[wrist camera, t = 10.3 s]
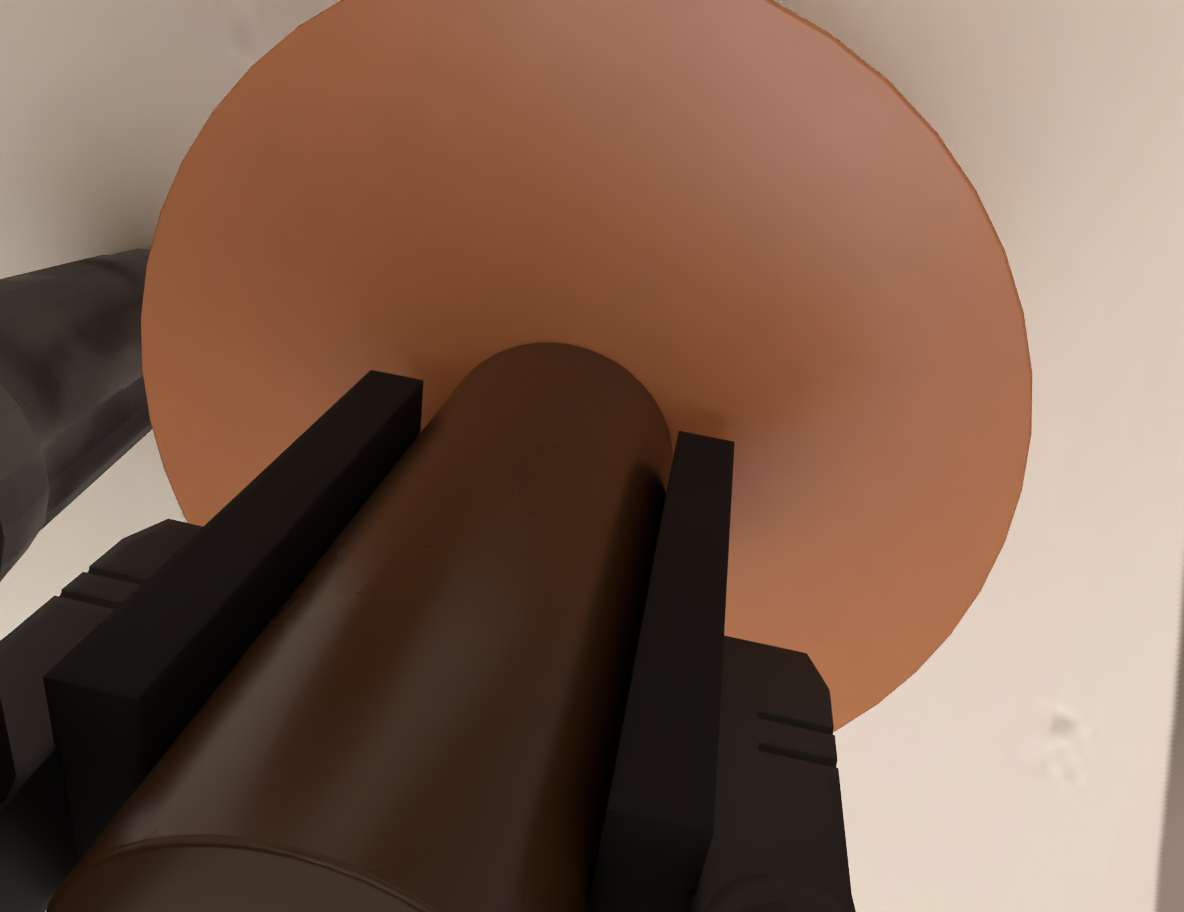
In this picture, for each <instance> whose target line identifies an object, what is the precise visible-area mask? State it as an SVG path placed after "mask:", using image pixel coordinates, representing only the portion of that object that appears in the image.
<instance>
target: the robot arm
mask: <svg viewBox="0 0 1184 912" xmlns="http://www.w3.org/2000/svg"><path fill="white" fill-rule="evenodd" d="M423 382H424V380H420V379H415V378H410V377H405V376H400V375H395V374H390V373H385V372H380V371H375V370H370V371H369V372H368V373H367V374H366V375H365V376H364V377H363V378H362V379H360V380H359V381H358V382H357V383H356V384H355V385H354V386H353V387H352V388H351V389H350V390H349V391H348V392H347V393H345V394H344V395H343V396H342V397H341V398H340V399H339V400H338V401H337V402H336V403H335V404H334V405H333V406H332V407H331V408H329V409H328V410H327V411H326V412H325V413H324V414H323V415H322V416H321V417H320V418H319V419H318V420H317V421H316V422H315V423H313V424H312V425H311V426H310V427H309V428H308V429H307V430H306V431H305V432H304V433H303V434H302V435H301V436H300V437H298V438H297V439H296V440H295V441H294V442H293V443H292V444H291V445H290V446H289V447H288V448H287V449H286V450H285V451H284V452H282V453H281V454H280V455H279V456H278V457H277V458H276V459H275V460H274V461H273V462H272V463H271V464H270V465H269V466H268V467H266V468H265V469H264V470H263V471H262V472H261V473H260V474H259V475H258V476H257V477H256V478H255V479H254V480H253V481H251V482H250V483H249V484H248V485H247V486H246V487H245V488H244V489H243V490H242V491H241V492H240V493H239V494H238V495H237V496H235V497H234V498H233V499H232V500H231V501H230V502H229V503H228V504H227V505H226V506H225V507H224V508H223V509H222V510H221V511H219V512H218V513H217V514H216V515H215V516H214V517H213V518H212V519H211V520H210V521H209V522H208V523H207V524H206V525H204V526H199V525H194V524H190V523H185V522H180V521H176V520H171V519H167V520H165V521H162V522H160V523H158V524H155V525H153V526H151V527H149V528H146V529H144V530H142V531H139V532H137V533H135V534H132V535H130V536H128V537H126V538H123V539H122V540H121V541H119V542H118V543H117V544H116V545H115V546H113V547H112V548H111V549H110V550H109V551H107V552H106V553H105V554H104V555H103V556H101V557H100V558H99V559H98V560H97V561H95V562H94V563H93V564H92V565H91V566H90V567H89V571H88V573H85V572H82V573H81V574H80V575H79V576H78V577H76V578H75V579H74V580H73V581H72V582H70V583H69V584H68V585H67V586H66V587H64V588H63V589H62V592H61V595H60V596H59V597H58V596H54V597H52V598H51V599H50V600H49V601H48V602H46V603H45V604H44V605H43V606H42V607H40V608H39V609H38V610H37V611H36V612H35V613H33V614H32V615H31V616H30V617H29V618H27V619H26V620H25V621H24V622H23V623H21V624H20V625H19V626H18V627H17V628H15V629H14V630H13V631H12V632H11V633H9V634H8V635H7V636H6V637H5V638H3V639H2V640H1V641H0V912H45V911H46V910H47V908H48V905H49V902H50V901H51V899H52V897H53V896H54V894H55V892H56V891H57V889H58V887H59V886H60V884H61V883H62V882H63V881H64V879H65V878H66V877H67V875H68V874H69V873H70V872H71V870H72V869H73V868H74V867H75V865H76V864H77V863H78V862H79V860H80V859H81V858H82V857H83V855H84V854H85V853H86V852H87V850H88V849H89V848H90V847H91V845H92V844H93V843H94V842H95V840H96V839H97V838H98V837H99V835H100V834H101V833H102V832H103V830H104V829H105V828H106V827H107V825H108V824H109V823H110V822H111V820H112V819H113V818H114V817H115V815H116V814H117V813H118V812H119V810H120V809H121V808H122V807H123V805H124V804H125V803H126V801H127V800H128V799H129V798H130V796H131V795H132V794H133V793H134V791H135V790H136V789H137V788H138V786H139V785H140V784H141V783H142V781H143V780H144V779H145V778H146V776H147V775H148V774H149V773H150V771H151V770H152V769H153V768H154V766H155V765H156V764H157V763H158V761H159V760H160V759H161V758H162V756H163V755H164V754H165V753H166V751H167V750H168V749H169V748H170V746H171V745H172V744H173V743H174V741H175V740H176V739H177V738H178V736H179V735H180V734H181V733H182V731H183V730H184V729H185V727H186V726H187V725H188V724H189V722H190V721H191V720H192V719H193V717H194V716H195V715H196V714H197V712H198V711H199V710H200V709H201V707H202V706H203V705H204V704H205V702H206V701H207V700H208V699H209V697H210V696H211V695H212V694H213V692H214V691H215V690H216V689H217V687H218V686H219V685H220V684H221V682H222V681H223V680H224V679H225V677H226V676H227V675H228V674H229V672H230V671H231V670H232V669H233V667H234V666H235V665H236V664H237V662H238V661H239V660H240V659H241V657H242V656H243V655H244V654H245V652H246V651H247V650H248V648H249V647H250V646H251V645H252V643H253V642H254V641H255V640H256V638H257V637H258V636H259V635H260V633H261V632H262V631H263V630H264V628H265V627H266V626H267V625H268V623H269V622H270V621H271V620H272V618H273V617H274V616H275V615H276V613H277V612H278V611H279V610H280V608H281V607H282V606H283V605H284V603H285V602H286V601H287V600H288V598H289V597H290V596H291V595H292V593H293V592H294V591H295V590H296V588H297V587H298V586H299V585H300V583H301V582H302V581H303V580H304V578H305V577H306V576H307V574H308V573H309V572H310V571H311V569H312V568H313V567H314V566H315V564H316V563H317V562H318V561H319V559H320V558H321V557H322V556H323V554H324V553H325V552H326V551H327V549H328V548H329V547H330V546H331V544H332V543H333V542H334V541H335V539H336V538H337V537H338V536H339V534H340V533H341V532H342V531H343V529H344V528H345V527H346V526H347V524H348V523H349V522H350V521H351V519H352V518H353V517H354V516H355V514H356V513H357V512H358V511H359V509H360V508H361V507H362V506H363V504H364V503H365V502H366V500H367V499H368V498H369V497H370V495H371V494H372V493H373V492H374V490H375V489H376V488H377V487H378V485H379V484H380V483H381V482H382V480H383V479H384V478H385V477H386V475H387V474H388V473H389V472H390V470H391V469H392V468H393V467H394V465H395V464H396V463H397V462H398V460H399V459H400V458H401V457H402V455H403V454H404V453H405V452H406V450H407V449H408V448H409V447H410V445H411V444H412V443H413V442H414V440H415V439H416V438H417V437H418V435H419V434H420V431H421V415H422V399H423ZM734 443H735V442H734V441H729V440H724V439H719V438H714V437H709V436H704V435H699V434H694V433H688V432H683V431H679V432H678V437H677V442H676V447H675V452H674V457H673V462H672V466H671V471H670V476H669V481H668V486H667V491H666V496H665V501H664V506H663V512H662V517H661V522H660V527H659V533H658V538H657V543H656V548H655V554H654V559H653V564H652V570H651V575H650V580H649V585H648V591H647V596H646V601H645V606H644V612H643V617H642V622H641V627H640V633H639V638H638V643H637V649H636V654H635V659H634V664H633V670H632V675H631V680H630V685H629V691H628V696H627V701H626V706H625V712H624V717H623V722H622V728H621V733H620V738H619V743H618V749H617V754H616V759H615V764H614V770H613V775H612V780H611V786H610V791H609V796H608V801H607V807H606V812H605V817H604V822H603V828H602V833H601V838H600V843H599V849H598V854H597V859H596V865H595V870H594V875H593V880H592V886H591V891H590V896H589V901H588V906H589V912H856V911H855V907H854V903H853V899H852V895H851V886H850V876H849V867H848V857H847V848H846V838H845V829H844V819H843V810H842V800H841V791H840V781H839V772H838V768H836V763H837V753H836V744H835V736H834V735H833V729H834V725H833V715H832V706H831V696H830V689H829V688H828V686H827V684H826V683H825V681H824V680H823V678H822V676H821V675H820V673H819V672H818V670H817V669H816V667H815V665H814V664H813V662H812V661H811V659H810V657H809V656H808V654H807V653H804V652H799V651H794V650H790V649H785V648H780V647H776V646H771V645H767V644H762V643H757V642H753V641H748V640H743V639H739V638H734V637H729V636H725V635H724V629H725V610H726V592H727V573H728V554H729V536H730V517H731V499H732V480H733V462H734Z"/></svg>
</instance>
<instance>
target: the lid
mask: <svg viewBox="0 0 1184 912" xmlns="http://www.w3.org/2000/svg"><path fill="white" fill-rule="evenodd" d="M141 338H142V371H143V377H144V384H145V390H146V397H147V403H148V409H149V416H150V421H151V425H152V428H153V432H154V435H155V439H156V442H157V446H158V449H159V453H160V456H161V460H162V463H163V467H164V470H165V472H166V475H167V477H168V479H169V482H170V484H171V487H172V489H173V491H174V494H175V496H176V499H177V501H178V503H179V506H180V508H181V511H182V513H183V515H184V517H185V519H186V520H187V522H188V523H190V524H194V525H199V526H204V525H206V524H207V523H208V522H209V521H210V520H211V519H212V518H213V517H214V516H215V515H216V514H217V513H218V512H219V511H221V510H222V509H223V508H224V507H225V506H226V505H227V504H228V503H229V502H230V501H231V500H232V499H233V498H234V497H235V496H237V495H238V494H239V493H240V492H241V491H242V490H243V489H244V488H245V487H246V486H247V485H248V484H249V483H250V482H251V481H253V480H254V479H255V478H256V477H257V476H258V475H259V474H260V473H261V472H262V471H263V470H264V469H265V468H266V467H268V466H269V465H270V464H271V463H272V462H273V461H274V460H275V459H276V458H277V457H278V456H279V455H280V454H281V453H282V452H284V451H285V450H286V449H287V448H288V447H289V446H290V445H291V444H292V443H293V442H294V441H295V440H296V439H297V438H298V437H300V436H301V435H302V434H303V433H304V432H305V431H306V430H307V429H308V428H309V427H310V426H311V425H312V424H313V423H315V422H316V421H317V420H318V419H319V418H320V417H321V416H322V415H323V414H324V413H325V412H326V411H327V410H328V409H329V408H331V407H332V406H333V405H334V404H335V403H336V402H337V401H338V400H339V399H340V398H341V397H342V396H343V395H344V394H345V393H347V392H348V391H349V390H350V389H351V388H352V387H353V386H354V385H355V384H356V383H357V382H358V381H359V380H360V379H362V378H363V377H364V376H365V375H366V374H367V373H368V372H369V371H370V370H375V371H380V372H385V373H390V374H395V375H400V376H405V377H410V378H415V379H420V380H424V382H423V399H422V415H421V431H420V434H419V435H418V437H417V438H416V439H415V440H414V442H413V443H412V444H411V445H410V447H409V448H408V449H407V450H406V452H405V453H404V454H403V455H402V457H401V458H400V459H399V460H398V462H397V463H396V464H395V465H394V467H393V468H392V469H391V470H390V472H389V473H388V474H387V475H386V477H385V478H384V479H383V480H382V482H381V483H380V484H379V485H378V487H377V488H376V489H375V490H374V492H373V493H372V494H371V495H370V497H369V498H368V499H367V500H366V502H365V503H364V504H363V506H362V507H361V508H360V509H359V511H358V512H357V513H356V514H355V516H354V517H353V518H352V519H351V521H350V522H349V523H348V524H347V526H346V527H345V528H344V529H343V531H342V532H341V533H340V534H339V536H338V537H337V538H336V539H335V541H334V542H333V543H332V544H331V546H330V547H329V548H328V549H327V551H326V552H325V553H324V554H323V556H322V557H321V558H320V559H319V561H318V562H317V563H316V564H315V566H314V567H313V568H312V569H311V571H310V572H309V573H308V574H307V576H306V577H305V578H304V580H303V581H302V582H301V583H300V585H299V586H298V587H297V588H296V590H295V591H294V592H293V593H292V595H291V596H290V597H289V598H288V600H287V601H286V602H285V603H284V605H283V606H282V607H281V608H280V610H279V611H278V612H277V613H276V615H275V616H274V617H273V618H272V620H271V621H270V622H269V623H268V625H267V626H266V627H265V628H264V630H263V631H262V632H261V633H260V635H259V636H258V637H257V638H256V640H255V641H254V642H253V643H252V645H251V646H250V647H249V648H248V650H247V651H246V652H245V654H244V655H243V656H242V657H241V659H240V660H239V661H238V662H237V664H236V665H235V666H234V667H233V669H232V670H231V671H230V672H229V674H228V675H227V676H226V677H225V679H224V680H223V681H222V682H221V684H220V685H219V686H218V687H217V689H216V690H215V691H214V692H213V694H212V695H211V696H210V697H209V699H208V700H207V701H206V702H205V704H204V705H203V706H202V707H201V709H200V710H199V711H198V712H197V714H196V715H195V716H194V717H193V719H192V720H191V721H190V722H189V724H188V725H187V726H186V727H185V729H184V730H183V731H182V733H181V734H180V735H179V736H178V738H177V739H176V740H175V741H174V743H173V744H172V745H171V746H170V748H169V749H168V750H167V751H166V753H165V754H164V755H163V756H162V758H161V759H160V760H159V761H158V763H157V764H156V765H155V766H154V768H153V769H152V770H151V771H150V773H149V774H148V775H147V776H146V778H145V779H144V780H143V781H142V783H141V784H140V785H139V786H138V788H137V789H136V790H135V791H134V793H133V794H132V795H131V796H130V798H129V799H128V800H127V801H126V803H125V804H124V805H123V807H122V808H121V809H120V810H119V812H118V813H117V814H116V815H115V817H114V818H113V819H112V820H111V822H110V823H109V824H108V825H107V827H106V828H105V829H104V830H103V832H102V833H101V834H100V835H99V837H98V838H97V839H96V840H95V842H94V843H93V844H92V845H91V847H90V848H89V849H88V850H87V852H86V853H85V854H84V855H83V857H82V858H81V859H80V860H79V862H78V863H77V864H76V865H75V867H74V868H73V869H72V870H71V872H70V873H69V874H68V875H67V877H66V878H65V879H64V881H63V882H62V883H61V884H60V886H59V887H58V889H57V891H56V892H55V894H54V896H53V897H52V899H51V901H50V902H49V905H48V908H47V911H46V912H589V906H588V901H589V896H590V891H591V886H592V880H593V875H594V870H595V865H596V859H597V854H598V849H599V843H600V838H601V833H602V828H603V822H604V817H605V812H606V807H607V801H608V796H609V791H610V786H611V780H612V775H613V770H614V764H615V759H616V754H617V749H618V743H619V738H620V733H621V728H622V722H623V717H624V712H625V706H626V701H627V696H628V691H629V685H630V680H631V675H632V670H633V664H634V659H635V654H636V649H637V643H638V638H639V633H640V627H641V622H642V617H643V612H644V606H645V601H646V596H647V591H648V585H649V580H650V575H651V570H652V564H653V559H654V554H655V548H656V543H657V538H658V533H659V527H660V522H661V517H662V512H663V506H664V501H665V496H666V491H667V486H668V481H669V476H670V471H671V466H672V462H673V457H674V452H675V447H676V442H677V437H678V432H679V431H683V432H688V433H694V434H699V435H704V436H709V437H714V438H719V439H724V440H729V441H734V442H735V443H734V462H733V480H732V499H731V517H730V536H729V554H728V573H727V592H726V610H725V629H724V635H725V636H729V637H734V638H739V639H743V640H748V641H753V642H757V643H762V644H767V645H771V646H776V647H780V648H785V649H790V650H794V651H799V652H804V653H807V654H808V656H809V657H810V659H811V661H812V662H813V664H814V665H815V667H816V669H817V670H818V672H819V673H820V675H821V676H822V678H823V680H824V681H825V683H826V684H827V686H828V688H829V689H830V696H831V706H832V715H833V725H834V729H833V732H834V731H836V730H838V729H839V728H841V727H843V726H844V725H846V724H847V723H849V722H850V721H852V720H854V719H855V718H857V717H858V716H860V715H861V714H863V713H864V712H866V711H868V710H869V709H871V708H872V707H874V706H875V705H877V704H878V703H879V702H881V701H882V700H883V699H884V698H885V697H887V696H888V695H889V694H890V693H891V692H893V691H894V690H895V689H896V688H897V687H899V686H900V685H901V684H902V683H903V682H905V681H906V680H907V679H908V678H909V677H911V676H912V675H913V674H914V673H915V672H916V671H917V670H918V669H919V668H920V667H921V666H922V665H923V664H924V663H925V662H926V661H927V659H928V658H929V657H930V656H931V655H932V654H933V653H934V652H935V651H936V650H937V649H938V648H939V646H940V645H941V644H942V643H943V642H944V641H945V640H946V639H947V638H948V637H949V636H950V634H951V633H952V632H953V630H954V629H955V627H956V626H957V624H958V623H959V621H960V620H961V619H962V617H963V616H964V614H965V613H966V611H967V610H968V608H969V607H970V606H971V604H972V603H973V601H974V600H975V598H976V597H977V595H978V594H979V593H980V591H981V589H982V587H983V585H984V583H985V581H986V579H987V577H988V575H989V573H990V571H991V569H992V567H993V565H994V563H995V561H996V559H997V557H998V555H999V553H1000V551H1001V549H1002V547H1003V545H1004V543H1005V540H1006V537H1007V534H1008V531H1009V528H1010V525H1011V522H1012V518H1013V515H1014V512H1015V509H1016V506H1017V503H1018V500H1019V497H1020V494H1021V491H1022V486H1023V480H1024V474H1025V468H1026V462H1027V456H1028V450H1029V444H1030V438H1031V420H1032V369H1031V362H1030V355H1029V348H1028V341H1027V334H1026V327H1025V320H1024V313H1023V309H1022V306H1021V303H1020V299H1019V296H1018V293H1017V289H1016V286H1015V283H1014V279H1013V276H1012V273H1011V270H1010V266H1009V263H1008V260H1007V256H1006V253H1005V250H1004V248H1003V246H1002V244H1001V242H1000V240H999V237H998V235H997V233H996V231H995V229H994V227H993V225H992V223H991V221H990V219H989V217H988V214H987V212H986V210H985V208H984V206H983V204H982V202H981V200H980V198H979V196H978V194H977V191H976V190H975V188H974V187H973V185H972V184H971V182H970V181H969V179H968V178H967V176H966V175H965V173H964V172H963V170H962V169H961V168H960V166H959V165H958V163H957V162H956V160H955V159H954V157H953V156H952V154H951V153H950V151H949V150H948V148H947V147H946V145H945V144H944V143H943V141H942V140H941V138H940V137H939V135H938V134H937V132H936V131H935V130H934V129H933V128H932V127H931V126H930V125H929V124H928V123H927V122H926V120H925V119H924V118H923V117H922V116H921V115H920V114H919V113H918V112H917V111H916V110H915V109H914V108H913V106H912V105H911V104H910V103H909V102H908V101H907V100H906V99H905V98H904V97H903V96H902V95H901V93H900V92H899V91H898V90H897V89H896V88H895V87H894V86H893V85H892V84H891V83H890V82H889V81H888V80H887V79H886V78H885V77H884V76H882V75H881V74H880V73H879V72H877V71H876V70H875V69H874V68H872V67H871V66H870V65H869V64H867V63H866V62H865V61H864V60H862V59H861V58H860V57H859V56H857V55H856V54H855V53H854V52H852V51H851V50H850V49H849V48H847V47H846V46H845V45H844V44H842V43H841V42H840V41H839V40H837V39H836V38H835V37H834V36H832V35H831V34H829V33H828V32H826V31H824V30H823V29H821V28H819V27H817V26H816V25H814V24H812V23H810V22H809V21H807V20H805V19H804V18H802V17H800V16H798V15H797V14H795V13H793V12H792V11H790V10H788V9H786V8H785V7H783V6H781V5H780V4H778V3H776V2H774V1H773V0H341V1H340V2H338V3H336V4H335V5H333V6H331V7H330V8H328V9H326V10H325V11H323V12H321V13H320V14H318V15H316V16H315V17H313V18H311V19H310V20H308V21H306V22H305V23H303V24H301V25H300V26H298V27H297V28H296V29H295V30H294V31H292V32H291V33H290V34H289V35H288V36H287V37H285V38H284V39H283V40H282V41H281V42H279V43H278V44H277V45H276V46H275V47H274V48H272V49H271V50H270V51H269V52H268V53H266V54H265V55H264V56H263V57H262V58H261V59H259V60H258V61H257V62H256V63H255V64H253V65H252V66H251V67H250V69H249V70H248V71H247V72H246V73H245V74H244V76H243V77H242V78H241V79H240V80H239V81H238V83H237V84H236V85H235V86H234V87H233V88H232V89H231V91H230V92H229V93H228V94H227V95H226V96H225V98H224V99H223V100H222V101H221V102H220V103H219V105H218V106H217V107H216V108H215V109H214V110H213V112H212V113H211V115H210V117H209V118H208V120H207V122H206V123H205V125H204V126H203V128H202V130H201V131H200V133H199V134H198V136H197V138H196V139H195V141H194V143H193V144H192V146H191V147H190V149H189V151H188V152H187V154H186V155H185V157H184V159H183V160H182V163H181V165H180V167H179V170H178V172H177V175H176V177H175V179H174V182H173V184H172V186H171V189H170V191H169V193H168V196H167V198H166V200H165V203H164V205H163V207H162V210H161V212H160V216H159V220H158V224H157V228H156V231H155V235H154V239H153V243H152V247H151V251H150V255H149V258H148V262H147V268H146V277H145V286H144V295H143V304H142V313H141Z"/></svg>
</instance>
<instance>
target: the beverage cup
mask: <svg viewBox="0 0 1184 912" xmlns="http://www.w3.org/2000/svg"><path fill="white" fill-rule="evenodd" d="M149 255H150V251H148V250H141V249H136V250H131V251H127V252H122V253H118V254H115V255H110V256H109V255H101V256H96V257H92V258H87V259H83V260H79V261H74V262H70V263H66V264H62V265H58V266H54V267H50V268H45V269H41V270H37V271H33V272H29V273H25V274H21V275H16V276H12V277H8V278H4V279H0V581H1V580H2V579H3V578H4V576H5V575H6V574H7V573H8V572H9V570H10V569H11V568H12V567H13V566H14V565H15V563H16V562H17V561H18V560H19V559H20V557H21V556H22V555H23V554H24V553H25V551H26V550H27V549H28V548H29V546H30V545H31V543H32V541H33V540H34V538H35V537H36V535H37V534H38V532H39V531H40V530H41V529H42V528H44V527H45V526H46V525H47V524H48V523H49V522H50V521H51V520H52V519H53V518H55V517H56V516H57V515H58V514H59V513H60V512H61V511H62V510H63V509H65V508H66V507H67V506H68V505H69V504H70V503H71V502H72V501H73V500H74V499H76V498H77V497H78V496H79V495H80V494H81V493H82V492H83V491H84V490H85V489H87V488H88V487H89V486H90V485H91V484H92V483H93V482H94V481H95V480H96V479H98V478H99V477H100V476H101V475H102V474H103V473H104V472H105V471H106V470H108V469H109V468H110V467H111V466H112V465H113V464H114V463H115V462H116V461H117V460H119V459H120V458H121V457H122V456H123V455H124V454H125V453H126V452H127V451H128V450H130V449H131V448H132V447H133V446H134V445H135V444H136V443H137V442H138V441H140V440H141V439H142V438H143V437H144V436H145V435H146V434H147V433H148V432H149V431H151V430H152V429H153V428H152V425H151V421H150V416H149V409H148V403H147V397H146V390H145V384H144V377H143V371H142V338H141V313H142V304H143V295H144V286H145V277H146V268H147V262H148V258H149Z"/></svg>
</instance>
